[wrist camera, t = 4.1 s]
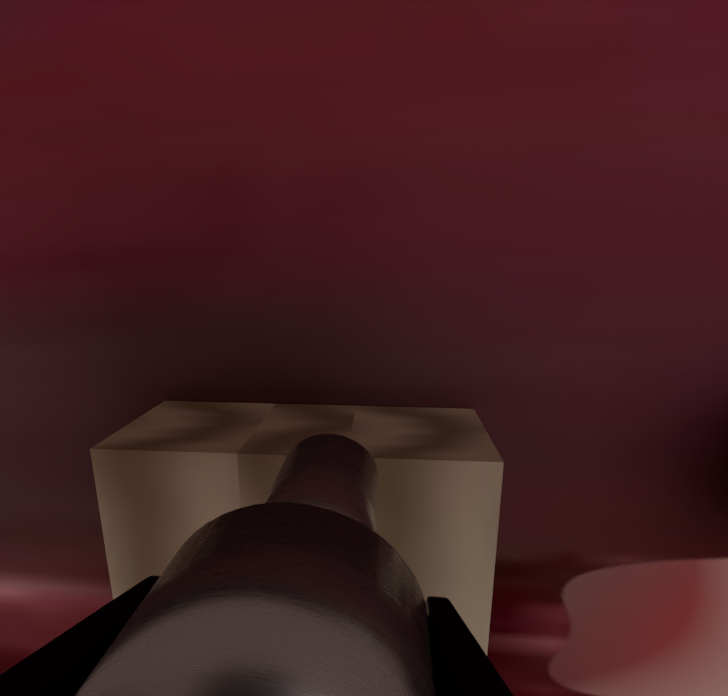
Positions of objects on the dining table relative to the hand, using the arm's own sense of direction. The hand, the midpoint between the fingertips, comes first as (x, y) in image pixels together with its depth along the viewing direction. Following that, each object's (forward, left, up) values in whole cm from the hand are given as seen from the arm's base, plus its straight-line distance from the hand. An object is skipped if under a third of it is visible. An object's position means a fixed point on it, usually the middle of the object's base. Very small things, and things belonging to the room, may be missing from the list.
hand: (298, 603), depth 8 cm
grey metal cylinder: (0, 0, -4) cm, 5 cm away
